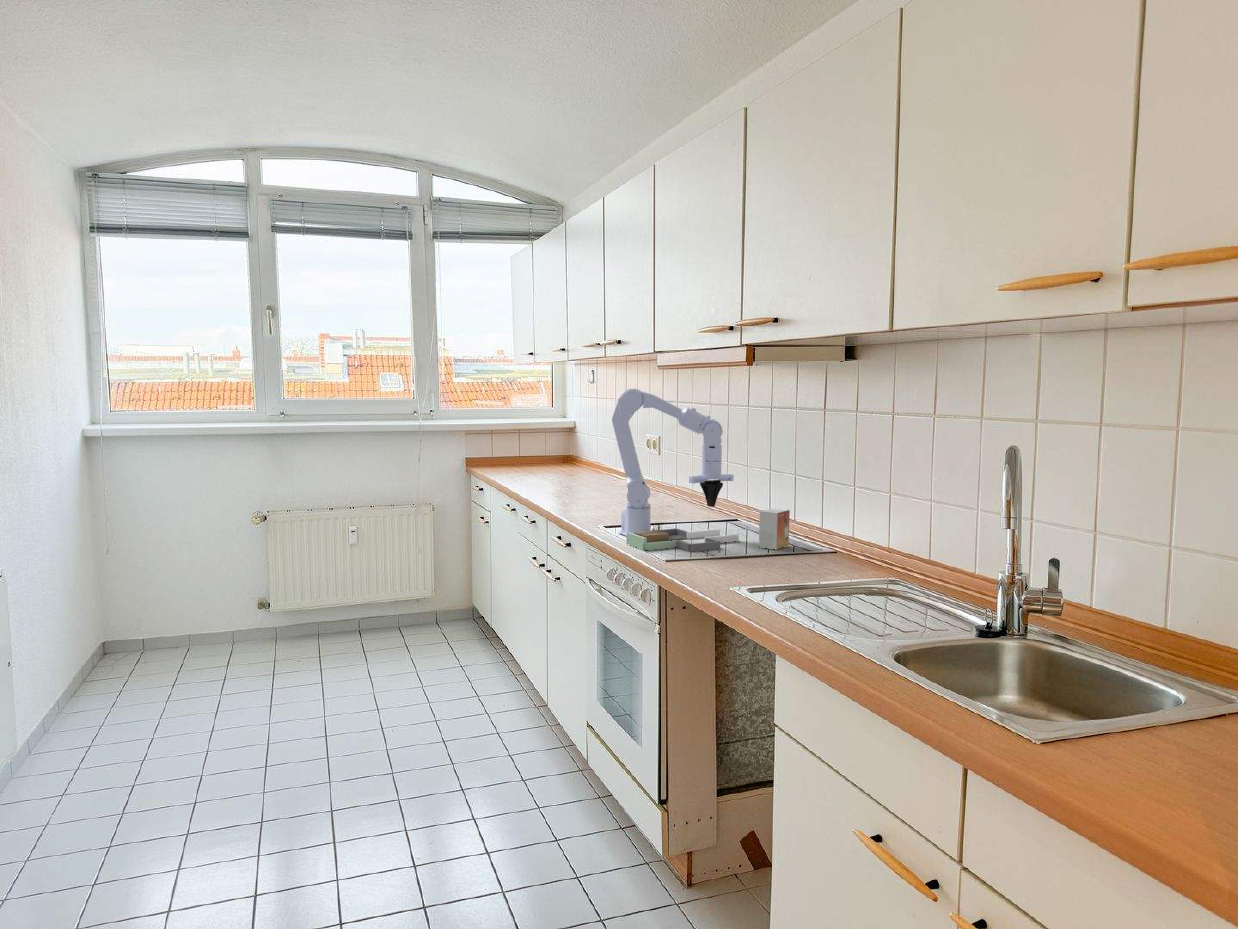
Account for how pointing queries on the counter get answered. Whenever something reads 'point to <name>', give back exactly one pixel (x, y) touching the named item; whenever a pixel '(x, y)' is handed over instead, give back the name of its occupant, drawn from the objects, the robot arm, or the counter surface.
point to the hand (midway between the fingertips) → (711, 506)
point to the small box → (774, 528)
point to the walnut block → (654, 536)
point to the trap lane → (680, 534)
